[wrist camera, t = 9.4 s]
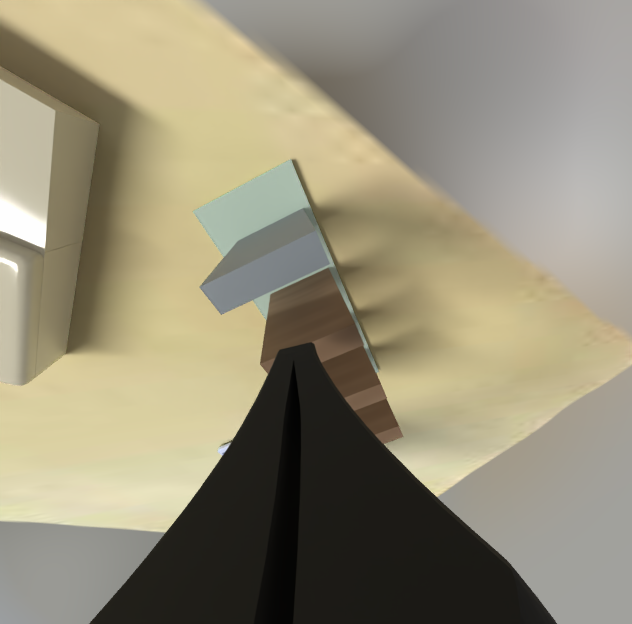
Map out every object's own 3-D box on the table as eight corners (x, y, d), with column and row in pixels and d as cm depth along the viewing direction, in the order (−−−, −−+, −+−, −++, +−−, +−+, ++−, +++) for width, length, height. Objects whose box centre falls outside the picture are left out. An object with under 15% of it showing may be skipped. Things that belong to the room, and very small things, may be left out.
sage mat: (377, 369, 24) (378, 371, 24) (317, 393, 25) (317, 395, 24) (290, 159, 14) (290, 159, 14) (194, 210, 15) (192, 211, 15)
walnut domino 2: (353, 324, 20) (387, 398, 13) (302, 346, 21) (310, 427, 14) (348, 312, 20) (380, 383, 13) (295, 335, 20) (300, 414, 13)
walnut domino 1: (335, 282, 18) (364, 344, 11) (279, 307, 19) (274, 381, 12) (328, 267, 17) (355, 323, 11) (270, 294, 18) (260, 364, 11)
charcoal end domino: (311, 228, 16) (330, 264, 9) (248, 258, 17) (221, 314, 10) (302, 208, 15) (315, 230, 8) (237, 240, 16) (199, 287, 9)
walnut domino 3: (367, 358, 23) (403, 436, 16) (321, 377, 23) (336, 460, 16) (363, 348, 22) (398, 426, 15) (316, 368, 22) (329, 451, 16)
